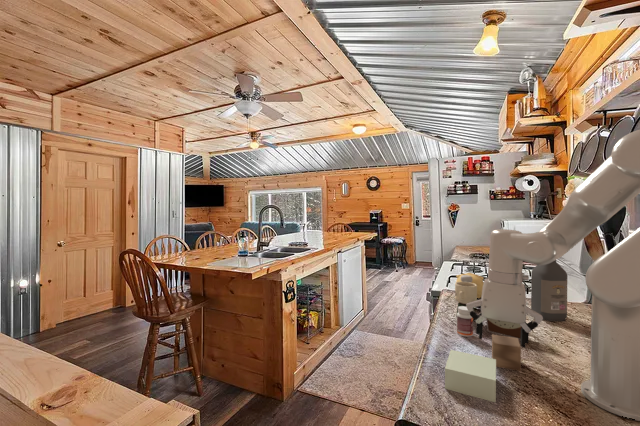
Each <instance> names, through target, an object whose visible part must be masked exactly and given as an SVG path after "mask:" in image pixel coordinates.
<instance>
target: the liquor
mask: <svg viewBox="0 0 640 426" xmlns="http://www.w3.org/2000/svg"><path fill="white" fill-rule="evenodd" d="M530 276H531V277H530V278H531V279H530V280H531V282H530V283H531V285H530V286H531V289H530V290H531V291H530V292H531V293H530V295H531V296H530V298H531V299H530V300H531V301H530V309H532V310H534V311H535V312H537V313H539V314H540V315H542V317H543V320H544V321H549V322H565V320H566V319H567V318H568V273H567V271H566V270H565V269H564V268H563V267H562V266H561V265H560V264H559V263H558V262H557V259H556V260H555V261H553V262H551V263H549V264H546V265H536V266H534V267H533V268H532V270H531V275H530ZM543 320H542V321H543Z"/></svg>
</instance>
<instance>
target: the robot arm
mask: <svg viewBox="0 0 640 426" xmlns="http://www.w3.org/2000/svg"><path fill="white" fill-rule="evenodd" d="M638 195H640V129H637V130H634V131H632V132H629V133H628V134H625V135H623V136H622V137H620V139H619V140H618V141H617V142H616V143H615V145H613V148H612V150H611V153H610V155H609V156H608V158H606V159H605V160H604V161H603V162H602V163H601V164H600V165H599V166H598V167H597V168H595V170H593V172H592V173H591V174H589V176H587V177H586V178H585V179H584V180H582V182H581V183H580V184H579V185H577V186H576V187H575V189H574V190H573V191H572V192H571V193H570V195H569V197H568V200H567V202H566V204H565V206H564V207H563V208H562V210H561V211H560V212H558V213H557V214H556V215H555V217H554V218H553V219H552V220H550V222H548V223H547V225H545V226H544V227H542V228H541V229H540V230H539V231H537V232H532V233H524V232H522V231H519V230H515V229H503V228H502V229H501V228H499V229H494V230H492V231H491V233H490V236H489V253H488V254H489V255H488V271H487V272H488V273H487V277H485V278H484V279H483V282H484V284H483V289H482V296H481V298H479V299H477V301H473V302H470V303H467V304H466V307H467V309H468V311H469V313H470V315H471V316H472V318H473V319H474V320H475V321H474V322H475V323H476V331H475V332H476V333H475V334H477V335H478V338H479V339H483V328H484V324H483V323H484V321H485V320H487V319H486V318H488V319H494V320H499V321H505V322H511V323H517V324H520V325H521V326H522V328H521V337H520V339H519V340H520V341H519V344H520V347H521V348H526V344H529V336H530V335H529V334H530V333H531V332H532V331H533V330H534V329H536V328H537V327H538V326H539V325H540V324H541V323H542V321H543V317H542V315H540V314H539V313H537V312H535V311H534V310H532V309H531V307H528V306H527V296H526V295H527V294H526V287H525V283H523V282H524V281H529V279H530V276H529V275H528V274H525V273H524V272H523V266H524V265H523V263H524V262H525V263H528V264H530V265H531V264H532V265H534V266H535V265H536V266H537V265H546V264H549V263H551V262H553V261H555V260H556V261H557V260H558V259H560V258H562V257H563V256H565V254H567V253H568V252H569V251H570V250H571V249H573V248H574V247H575V246H576V245H578V244H579V243H580V242H581V241H582V240H583V239H585V238H586V237H588V236H589V235H590V234H591V232H593V231H595V230H596V229H597V228H598V227H600V226H601V225H602V224H605V223H606V222H607V221H609V220H610V219H611V218H612V217H613V216H614V215H616V214H617V213H618V212H619V211H620V210H622V209H623V208H624V207H626V205H627V204H629V203H630V202H631V201H632V200H634V199H635V198H636V197H637V196H638ZM584 278H585V283H586V287H587V289H588V291H589V292H590V294H591V295H592V297H591V321H590V322H591V324H590V379H587V380H584V381H582V382H581V384H580V390H581V394H583V396H584V397H585V398H586V399H587V400H589V402H591V403H593V404H594V405H595V406H598V407H599V408H600V409H603V410H605V411H607V412H610V413H612V414H613V415H616V416H620V417H622V416H623V418H625V417H627V418H626V419H629V418H633V419H635V420H634V421H636V422H637V421H638V422H640V226H639V227H638V228H636V229H635V230H634V231H633V232H631V233H630V234H629V235H627V236H626V237H625V238H624V239H623V240H621V241H620V242H619V243H617V244H616V245H614V246H613V248H611V249H610V250H608V251H607V252H606V253H604V254H602V255H600V256H599V257H598V258H596V259H595V260H594V261H593V262H592V264H590V265H589V267H588V268H587V271H586V273H585V277H584ZM477 307H480V312H479V313H477V312H476V310H475V308H477ZM473 308H474V310H475V311H474V310H473ZM527 313H528V316H529V315H530V316H531V317H533V320H530V321H529V322H527V321H526V320H527Z"/></svg>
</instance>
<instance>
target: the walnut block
mask: <svg viewBox="0 0 640 426" xmlns="http://www.w3.org/2000/svg"><path fill="white" fill-rule="evenodd" d="M491 358H492V359H496V368H503V369H507V370H513V371H517V372H521V370H522V366H521V365H522V362H521V361H522V360H521V359H522V346H521V343H520V341H519V339H518V338H513V337H508V336H504V335H500V334H495V333H492V334H491Z"/></svg>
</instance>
